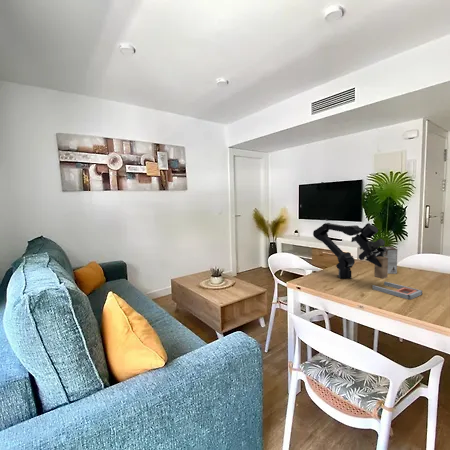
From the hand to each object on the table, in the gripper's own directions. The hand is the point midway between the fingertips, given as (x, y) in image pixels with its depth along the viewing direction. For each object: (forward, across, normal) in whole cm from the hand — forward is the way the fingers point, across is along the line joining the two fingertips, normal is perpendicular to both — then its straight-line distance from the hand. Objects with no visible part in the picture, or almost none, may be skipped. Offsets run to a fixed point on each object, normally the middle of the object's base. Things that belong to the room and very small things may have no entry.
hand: (383, 265), depth 135 cm
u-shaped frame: (+14, 0, +4) cm, 14 cm away
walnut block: (+4, 0, +6) cm, 7 cm away
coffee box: (-1, +33, +19) cm, 38 cm away
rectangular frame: (+17, 0, +1) cm, 17 cm away
